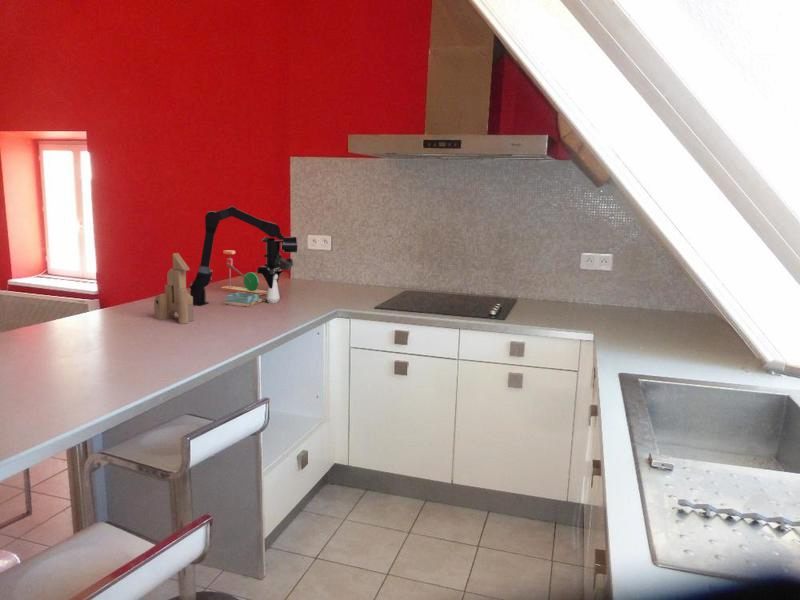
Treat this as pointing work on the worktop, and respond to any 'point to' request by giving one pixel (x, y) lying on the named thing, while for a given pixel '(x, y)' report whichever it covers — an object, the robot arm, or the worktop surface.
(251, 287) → the crank mechanism
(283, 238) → the robot arm
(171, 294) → the wooden toy
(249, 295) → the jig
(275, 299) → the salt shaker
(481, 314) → the worktop surface
